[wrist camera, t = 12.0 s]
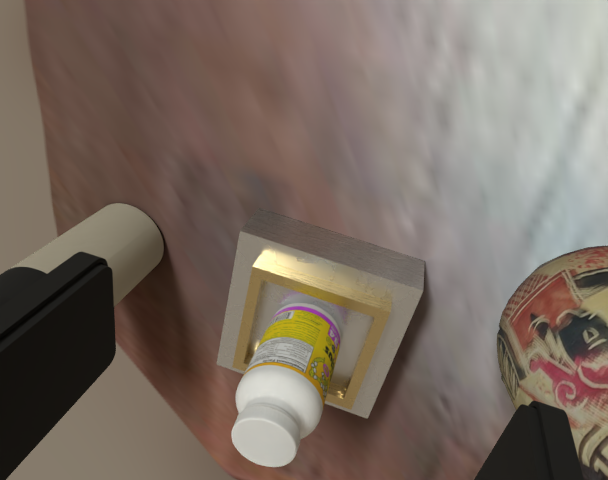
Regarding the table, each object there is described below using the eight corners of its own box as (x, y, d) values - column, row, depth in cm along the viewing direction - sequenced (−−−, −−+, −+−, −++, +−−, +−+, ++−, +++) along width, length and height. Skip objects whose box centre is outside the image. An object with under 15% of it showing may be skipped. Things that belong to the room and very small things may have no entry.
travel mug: (170, 219, 48) (42, 328, 32) (159, 280, 52) (41, 403, 36) (99, 190, 48) (-60, 284, 33) (94, 253, 52) (-50, 363, 37)
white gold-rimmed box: (424, 260, 43) (422, 301, 37) (368, 395, 52) (359, 444, 46) (259, 207, 45) (233, 238, 39) (232, 347, 54) (208, 388, 48)
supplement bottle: (334, 366, 45) (301, 490, 34) (267, 346, 46) (213, 459, 34) (350, 311, 41) (318, 427, 30) (277, 290, 42) (221, 395, 31)
